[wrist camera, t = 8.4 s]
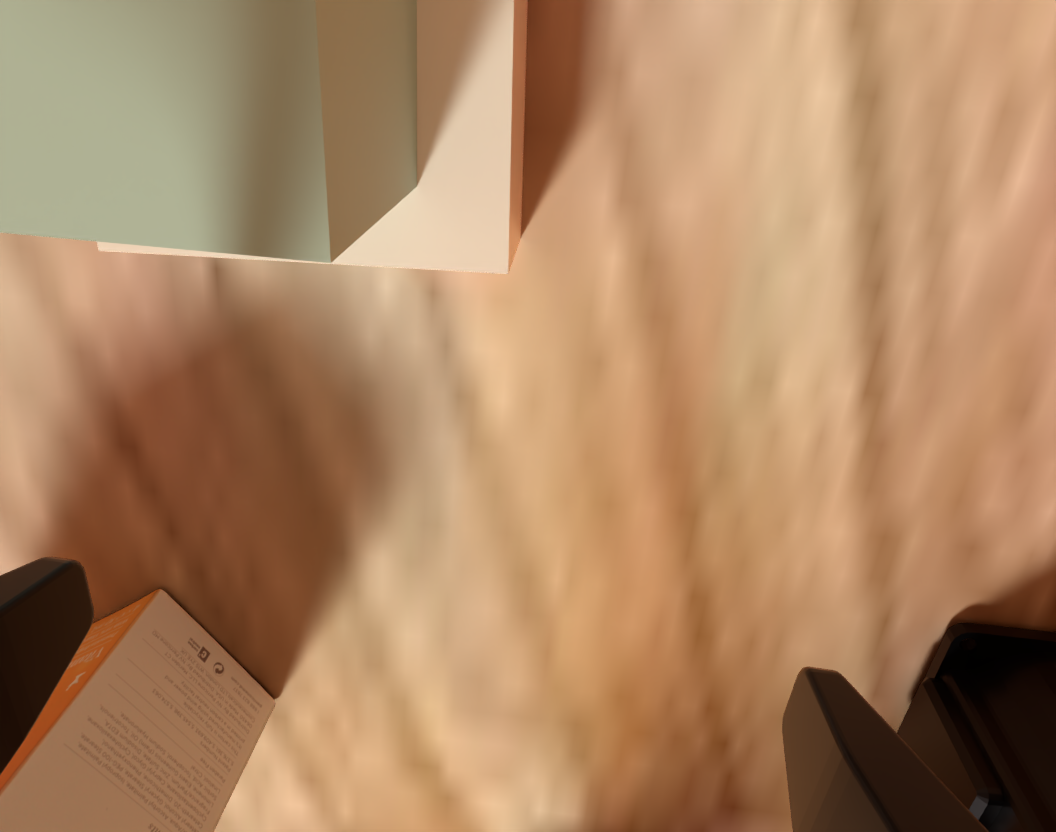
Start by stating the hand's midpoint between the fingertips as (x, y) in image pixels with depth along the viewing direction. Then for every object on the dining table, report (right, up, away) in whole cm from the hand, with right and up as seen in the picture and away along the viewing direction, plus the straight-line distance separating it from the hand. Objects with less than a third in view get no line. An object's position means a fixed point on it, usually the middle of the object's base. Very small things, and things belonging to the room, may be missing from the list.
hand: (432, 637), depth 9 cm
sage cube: (-4, +10, +5) cm, 12 cm away
